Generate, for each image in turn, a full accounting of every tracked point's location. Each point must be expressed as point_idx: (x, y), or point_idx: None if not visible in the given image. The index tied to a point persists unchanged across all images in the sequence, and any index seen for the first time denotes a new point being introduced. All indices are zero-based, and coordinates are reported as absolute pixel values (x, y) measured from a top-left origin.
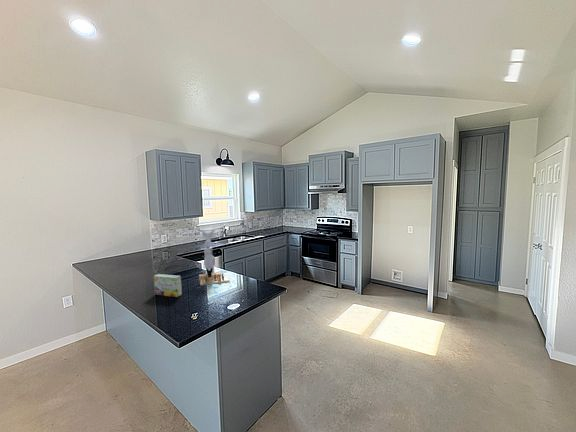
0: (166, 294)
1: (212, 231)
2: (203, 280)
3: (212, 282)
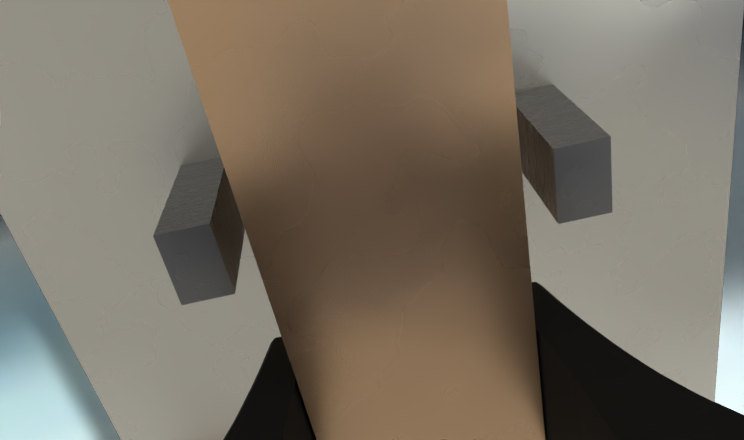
0: None
1: None
2: None
3: (102, 393)
